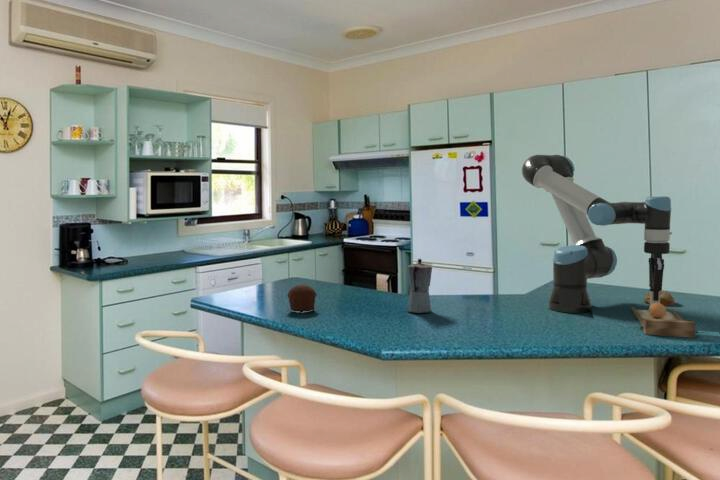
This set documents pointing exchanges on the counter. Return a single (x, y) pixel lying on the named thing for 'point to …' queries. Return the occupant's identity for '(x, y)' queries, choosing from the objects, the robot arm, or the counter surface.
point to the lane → (665, 324)
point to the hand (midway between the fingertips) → (654, 309)
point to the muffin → (302, 298)
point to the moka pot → (419, 287)
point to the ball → (657, 310)
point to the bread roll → (662, 299)
